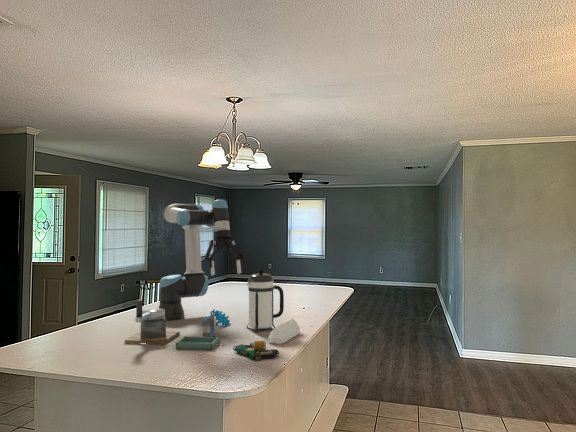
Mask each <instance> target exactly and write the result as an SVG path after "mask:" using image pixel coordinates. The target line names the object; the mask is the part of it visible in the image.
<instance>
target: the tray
mask: <svg viewBox="0 0 576 432" xmlns="http://www.w3.org/2000/svg"><path fill="white" fill-rule="evenodd" d="M219 344H220V337H216V336H213V337H203V336H183V337H182V338H181V339H179V340H177V341H176V342H175V349H176V350H201V351H214V349H215V348H216V347H217V346H218V345H219Z"/></svg>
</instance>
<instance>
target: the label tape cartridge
mask: <svg viewBox="0 0 576 432" xmlns="http://www.w3.org/2000/svg"><path fill="white" fill-rule="evenodd" d="M215 311H216V310H215V308H213V309H212V310H211V311H210V315H209V316H207V317H206V318H204V320H202V337H215V316H214V312H215Z"/></svg>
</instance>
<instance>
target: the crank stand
mask: <svg viewBox="0 0 576 432" xmlns="http://www.w3.org/2000/svg"><path fill="white" fill-rule="evenodd" d="M179 335H181V332H180V330H175V331H174V330H167V320H166V319H164V320H161V321H155V322H145V321H142V322H140V331H139V332H137V333H135V334H133V335H131V336H130V337H128V338H126V339H124V344H125V343H146V344H145V345H154V344H165V345H166V344H168V343H169V342H171V341H173V340H174V339H175V338H177V337H178V336H179ZM170 340H171V341H170ZM167 342H168V343H167Z"/></svg>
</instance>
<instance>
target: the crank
mask: <svg viewBox="0 0 576 432" xmlns="http://www.w3.org/2000/svg"><path fill="white" fill-rule="evenodd" d="M135 302H136V305H135V307H136V310H135V313H136V314H135V315H136V316H135V319H134V320H135V321H134V322H135V323H141V322H142V321H145V322H155V321H161V320H164V319H165V309H160V308H159V307H157V308H156V307H155V308H153V307H152V308H146V309H143V299H137V300H136V301H135Z"/></svg>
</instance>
